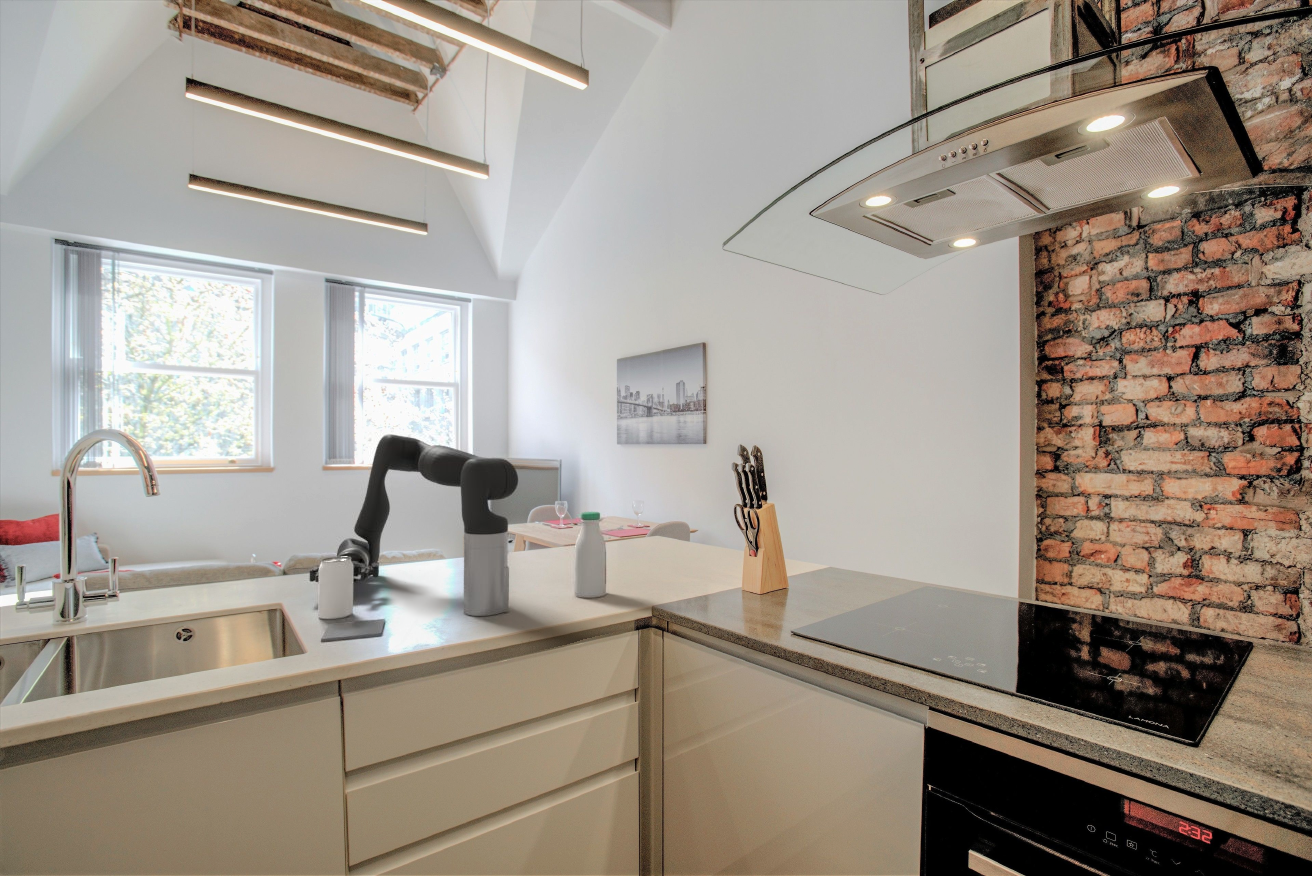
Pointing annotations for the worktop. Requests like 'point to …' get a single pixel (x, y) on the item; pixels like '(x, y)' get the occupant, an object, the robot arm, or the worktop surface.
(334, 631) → the coaster
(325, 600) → the can
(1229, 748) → the worktop surface
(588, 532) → the milk bottle
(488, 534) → the robot arm
